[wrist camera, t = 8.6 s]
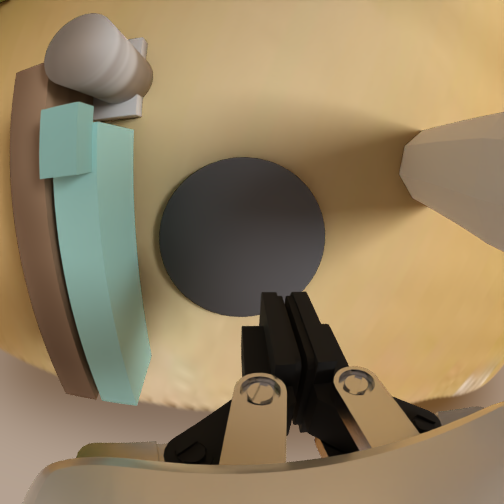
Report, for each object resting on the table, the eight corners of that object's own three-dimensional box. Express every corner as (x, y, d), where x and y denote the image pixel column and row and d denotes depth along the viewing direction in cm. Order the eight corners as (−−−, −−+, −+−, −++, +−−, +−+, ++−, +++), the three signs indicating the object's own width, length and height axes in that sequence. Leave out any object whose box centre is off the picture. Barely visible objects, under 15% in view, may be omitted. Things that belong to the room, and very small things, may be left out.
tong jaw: (134, 118, 12) (83, 100, 7) (151, 355, 16) (132, 422, 11) (98, 122, 12) (36, 111, 7) (122, 353, 16) (96, 416, 11)
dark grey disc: (328, 162, 15) (331, 162, 14) (313, 311, 18) (315, 314, 17) (158, 158, 14) (156, 158, 14) (167, 312, 17) (166, 315, 16)
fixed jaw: (156, 42, 12) (122, -8, 6) (164, 344, 18) (146, 413, 12) (76, 57, 11) (19, 26, 6) (96, 339, 17) (62, 399, 12)
